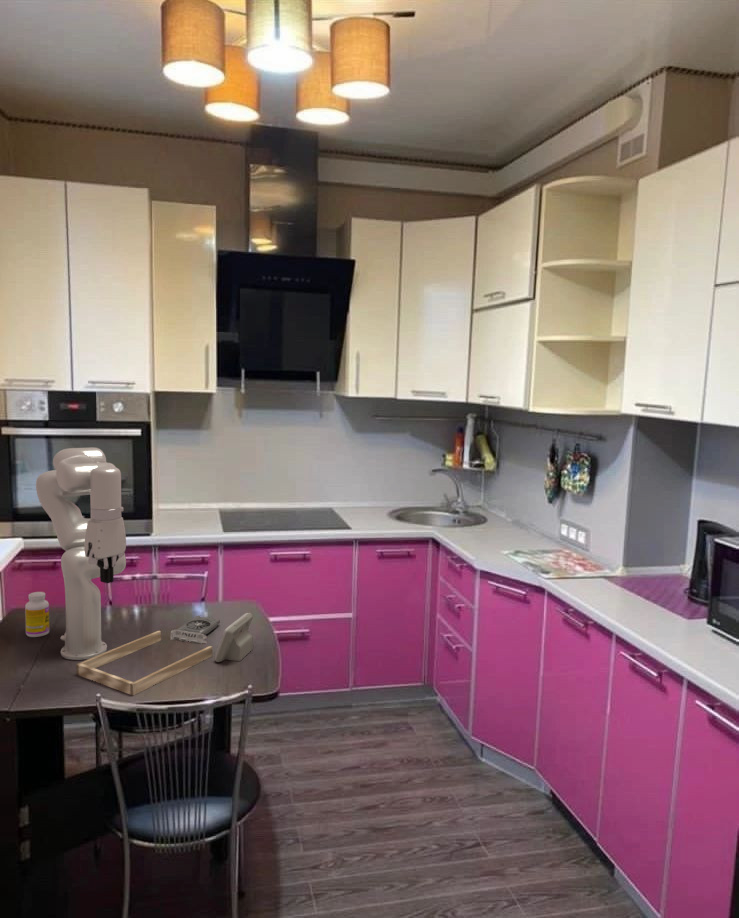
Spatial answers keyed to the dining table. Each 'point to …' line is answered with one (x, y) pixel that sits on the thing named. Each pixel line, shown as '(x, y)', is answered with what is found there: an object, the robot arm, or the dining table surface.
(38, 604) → the supplement bottle
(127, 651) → the wooden u-shaped frame
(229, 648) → the digital clock
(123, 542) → the robot arm
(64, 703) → the dining table surface
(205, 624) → the graphics card
